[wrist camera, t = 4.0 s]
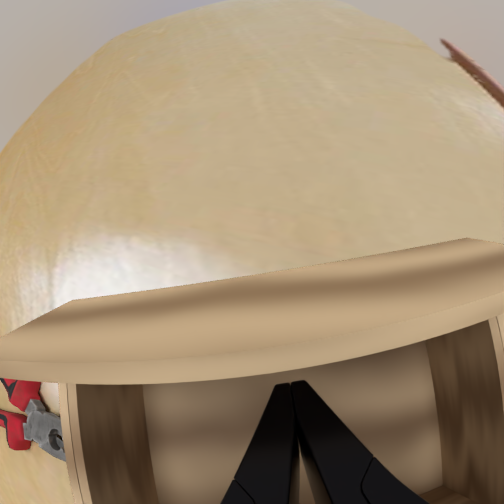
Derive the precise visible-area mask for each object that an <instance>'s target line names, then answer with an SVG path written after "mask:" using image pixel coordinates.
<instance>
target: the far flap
mask: <svg viewBox="0 0 504 504" xmlns="http://www.w3.org/2000/svg"><path fill="white" fill-rule="evenodd" d="M503 313H504V244H501V243H495V242H489V241H483V240H477V239H471V238H463V239H458V240H453V241H447V242H442V243H437V244H432V245H426V246H421V247H415V248H410V249H405V250H399V251H393V252H388V253H382V254H377V255H371V256H365V257H360V258H354V259H348V260H342V261H336V262H330V263H324V264H318V265H312V266H306V267H300V268H294V269H288V270H282V271H275V272H269V273H263V274H256V275H250V276H243V277H237V278H230V279H224V280H217V281H210V282H203V283H196V284H190V285H183V286H176V287H168V288H161V289H154V290H147V291H139V292H132V293H124V294H117V295H109V296H101V297H94V298H86V299H78V300H72V301H70V302H68V303H66V304H64V305H62V306H60V307H58V308H56V309H54V310H52V311H50V312H48V313H46V314H44V315H42V316H40V317H38V318H37V319H35V320H33V321H31V322H29V323H27V324H25V325H23V326H21V327H20V328H18V329H16V330H14V331H12V332H10V333H8V334H6V335H5V336H3V337H1V338H0V378H7V379H16V380H26V381H37V382H51V383H68V384H106V385H121V384H160V383H179V382H194V381H206V380H217V379H227V378H237V377H245V376H253V375H261V374H268V373H275V372H282V371H288V370H295V369H301V368H306V367H312V366H317V365H323V364H328V363H333V362H338V361H343V360H348V359H352V358H357V357H361V356H366V355H370V354H374V353H378V352H382V351H386V350H390V349H394V348H398V347H402V346H406V345H409V344H413V343H416V342H420V341H423V340H427V339H430V338H434V337H437V336H440V335H443V334H446V333H450V332H453V331H456V330H459V329H462V328H465V327H468V326H471V325H474V324H476V323H479V322H482V321H485V320H487V319H490V318H493V317H495V316H498V315H501V314H503Z"/></svg>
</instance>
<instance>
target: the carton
mask: <svg viewBox="0 0 504 504" xmlns="http://www.w3.org/2000/svg"><path fill="white" fill-rule="evenodd" d="M299 380H306V381H307V382H308V383H309V384H310V386H311V387H312V388H313V389H314V390H315V391H316V392H317V394H318V395H319V396H320V397H321V398H322V399H323V400H324V401H325V403H326V404H327V405H328V406H329V407H330V408H331V409H332V410H333V412H334V413H335V414H336V415H337V416H338V417H339V418H340V419H341V420H342V421H343V423H344V424H345V425H346V426H347V427H348V428H349V429H350V430H351V431H352V432H353V434H354V435H355V436H356V437H357V438H358V439H359V440H360V441H361V442H362V443H363V444H364V445H365V446H366V448H367V449H368V450H369V451H370V452H371V453H372V454H373V455H374V456H373V457H376V458H377V459H378V460H379V461H380V462H381V463H382V464H383V465H384V466H385V467H386V468H387V469H388V470H389V471H390V472H391V473H392V474H393V475H394V476H395V477H396V478H397V479H398V480H400V481H401V482H402V483H403V484H405V485H406V486H407V487H408V488H410V489H411V490H412V491H414V492H415V493H416V494H418V495H419V496H420V497H422V498H423V499H425V500H426V501H427V502H429V503H430V504H504V313H503V314H501V315H498V316H495V317H493V318H490V319H487V320H485V321H482V322H479V323H476V324H474V325H471V326H468V327H465V328H462V329H459V330H456V331H453V332H450V333H446V334H443V335H440V336H437V337H434V338H430V339H427V340H423V341H420V342H416V343H413V344H409V345H406V346H402V347H398V348H394V349H390V350H386V351H382V352H378V353H374V354H370V355H366V356H361V357H357V358H352V359H348V360H343V361H338V362H333V363H328V364H323V365H317V366H312V367H306V368H301V369H295V370H288V371H282V372H275V373H268V374H261V375H253V376H245V377H237V378H227V379H217V380H206V381H194V382H179V383H160V384H121V385H106V384H68V383H58V389H59V404H60V416H61V426H62V435H63V443H64V450H65V456H66V463H67V468H68V474H69V479H70V484H71V489H72V494H73V498H74V502H75V504H220V502H221V501H222V499H223V497H224V495H225V493H226V492H227V490H228V488H229V486H230V483H231V481H232V480H234V476H235V473H236V471H237V469H238V467H239V465H240V463H241V461H242V459H243V456H244V454H245V452H246V450H247V448H248V446H249V443H250V441H251V439H252V437H253V435H254V432H255V430H256V428H257V425H258V423H259V421H260V419H261V416H262V414H263V412H264V409H265V407H266V405H267V402H268V400H269V398H270V395H271V393H272V390H273V388H274V386H275V385H276V384H280V383H287V382H288V383H290V385H291V382H293V381H299ZM298 442H299V441H298ZM299 451H300V447H299ZM299 504H315V501H314V497H313V494H312V491H311V487H310V484H309V481H308V477H307V474H306V471H305V467H304V464H303V460H302V457H301V453H300V493H299Z"/></svg>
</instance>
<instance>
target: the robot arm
mask: <svg viewBox="0 0 504 504" xmlns="http://www.w3.org/2000/svg"><path fill="white" fill-rule="evenodd" d="M298 441H299V442H298ZM299 447H300V451H299ZM300 453H301V457H302V460H303V464H304V467H305V471H306V474H307V477H308V481H309V484H310V487H311V491H312V494H313V497H314V501H315V504H430V503H429V502H427V501H426V500H425V499H423V498H422V497H420V496H419V495H418V494H416V493H415V492H414V491H412V490H411V489H410V488H408V487H407V486H406V485H405V484H403V483H402V482H401V481H400V480H398V479H397V478H396V477H395V476H394V475H393V474H392V473H391V472H390V471H389V470H388V469H387V468H386V467H385V466H384V465H383V464H382V463H381V462H380V461H379V460H378V459H377V458H376V457H373V456H374V455H373V454H372V453H371V452H370V451H369V450H368V449H367V448H366V446H365V445H364V444H363V443H362V442H361V441H360V440H359V439H358V438H357V437H356V436H355V435H354V434H353V432H352V431H351V430H350V429H349V428H348V427H347V426H346V425H345V424H344V423H343V421H342V420H341V419H340V418H339V417H338V416H337V415H336V414H335V413H334V412H333V410H332V409H331V408H330V407H329V406H328V405H327V404H326V403H325V401H324V400H323V399H322V398H321V397H320V396H319V395H318V394H317V392H316V391H315V390H314V389H313V388H312V387H311V386H310V384H309V383H308V382H307V381H306V380H299V381H293V382H291V385H290V383H288V382H287V383H280V384H276V385H275V386H274V388H273V390H272V393H271V395H270V398H269V400H268V402H267V405H266V407H265V409H264V412H263V414H262V416H261V419H260V421H259V423H258V425H257V428H256V430H255V432H254V435H253V437H252V439H251V441H250V443H249V446H248V448H247V450H246V452H245V454H244V456H243V459H242V461H241V463H240V465H239V467H238V469H237V471H236V473H235V476H234V480H232V481H231V483H230V486H229V488H228V490H227V492H226V493H225V495H224V497H223V499H222V501H221V502H220V504H299V493H300Z"/></svg>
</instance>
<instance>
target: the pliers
mask: <svg viewBox="0 0 504 504" xmlns="http://www.w3.org/2000/svg"><path fill="white" fill-rule="evenodd" d="M0 380H1V382H2V383H3V385H4V387H5V389H6V390H7V392H8V397H9V401H10V402H11V403H12V404H13V405H14V406H16V407H18V408H19V409H20V410H21V411H23V412H26V414H27V415H28V417H26V416H24V415H22V414H18V413H12V412H7V411H4V410H0V426H2V427H4V428H6V435H7V442H8V445H9V448H11V449H13V450H27V449H29V448H30V445H31V441H35V442H36V443H39V447H40V448H42V449H43V450H45V451H46V452H48V453H49V454H51V455H52V456H54V457H56V458H58V459H61V460H63V461H66V456H65V450H64V443H63V441H62V440H63V435H62V426H61V418H60V417H58V416H57V415H55V414H53V413H48V412H46V411H45V407H44V406H43V404H42V403H41V402H40V397H39V395H38V392H39V389H40V385H41V382H37V381H26V380H16V379H7V378H0ZM57 434H59V435H60V436H62V440H60V439H59V438H58V437H57Z"/></svg>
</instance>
